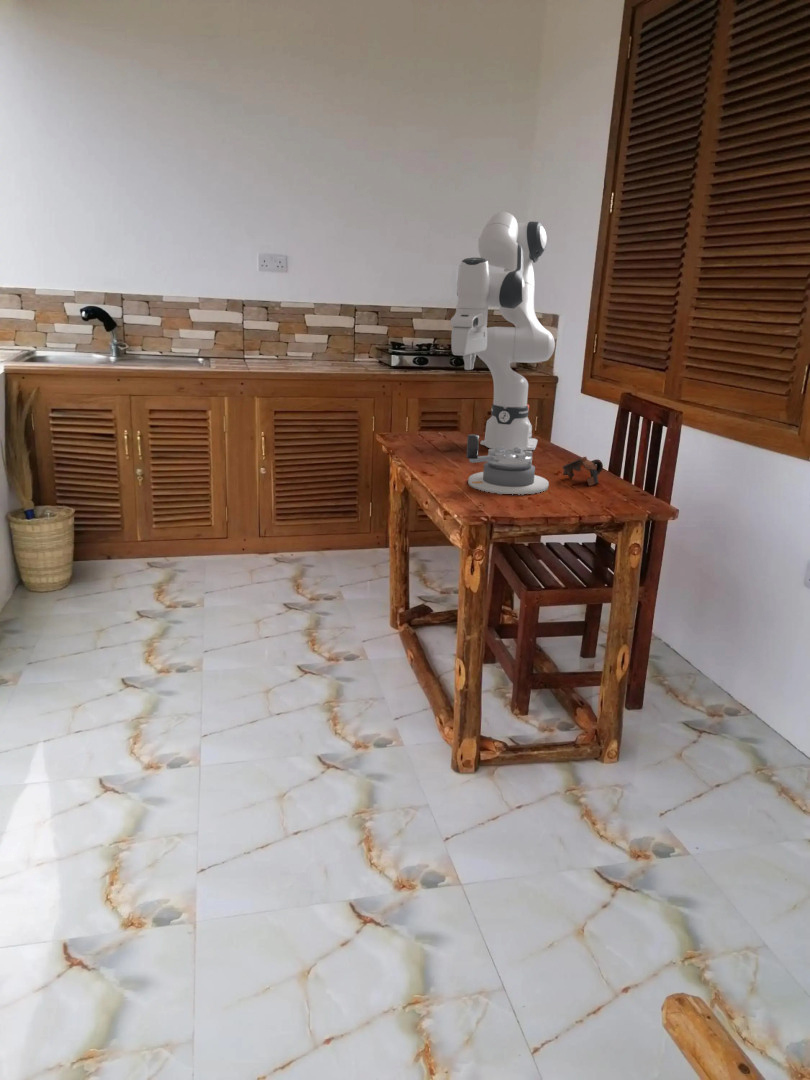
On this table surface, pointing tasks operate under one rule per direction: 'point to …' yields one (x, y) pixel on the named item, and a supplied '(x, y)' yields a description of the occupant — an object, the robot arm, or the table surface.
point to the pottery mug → (588, 465)
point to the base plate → (508, 490)
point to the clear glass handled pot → (499, 456)
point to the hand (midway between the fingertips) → (469, 369)
